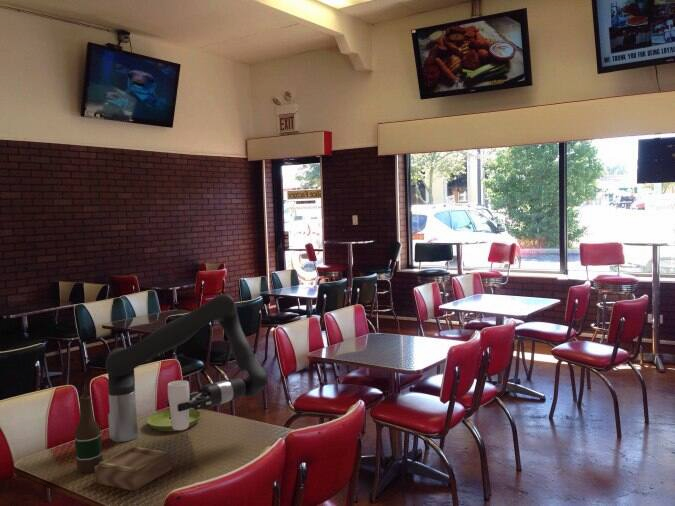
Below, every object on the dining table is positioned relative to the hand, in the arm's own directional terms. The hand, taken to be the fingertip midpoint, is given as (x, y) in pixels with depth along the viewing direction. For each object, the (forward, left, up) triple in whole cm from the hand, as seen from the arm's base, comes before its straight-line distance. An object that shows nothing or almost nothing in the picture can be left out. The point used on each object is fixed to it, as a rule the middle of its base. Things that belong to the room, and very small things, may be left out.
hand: (172, 406), depth 192 cm
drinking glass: (+1, +2, -8) cm, 9 cm away
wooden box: (-7, -11, -20) cm, 24 cm away
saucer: (-27, +31, -20) cm, 46 cm away
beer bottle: (-25, -12, -20) cm, 34 cm away
